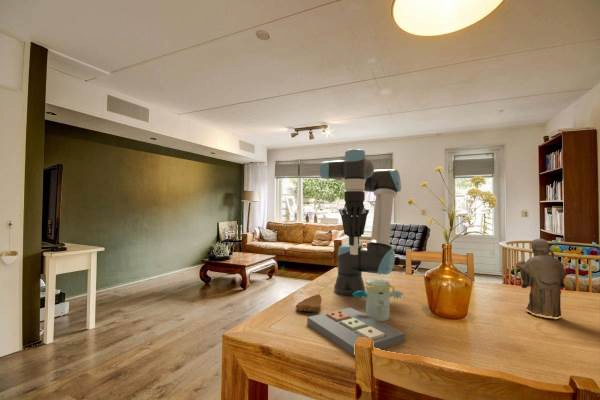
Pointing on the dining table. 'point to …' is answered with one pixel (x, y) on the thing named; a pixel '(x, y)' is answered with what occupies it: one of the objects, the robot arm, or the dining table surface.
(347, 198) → the robot arm
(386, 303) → the character sculpture
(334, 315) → the tile three
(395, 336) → the button board
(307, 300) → the artifact
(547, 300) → the sculpture
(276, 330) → the dining table surface
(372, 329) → the tile one
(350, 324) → the tile two
